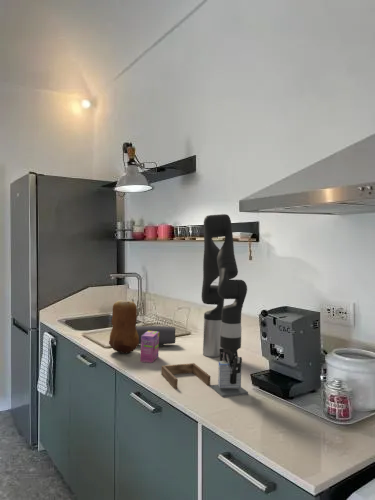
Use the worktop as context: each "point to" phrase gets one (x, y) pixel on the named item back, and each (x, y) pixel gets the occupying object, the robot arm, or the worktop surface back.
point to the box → (149, 346)
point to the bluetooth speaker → (164, 333)
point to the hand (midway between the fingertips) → (229, 380)
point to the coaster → (229, 391)
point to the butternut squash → (124, 327)
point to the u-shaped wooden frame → (169, 370)
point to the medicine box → (227, 376)
